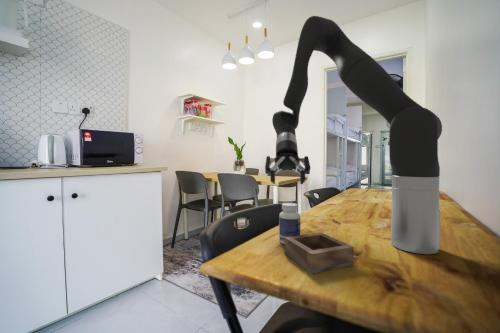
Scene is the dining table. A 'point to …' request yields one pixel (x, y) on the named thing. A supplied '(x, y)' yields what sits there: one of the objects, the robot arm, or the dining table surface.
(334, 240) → the square tray
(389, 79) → the robot arm
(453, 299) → the dining table surface
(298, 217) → the pill bottle
